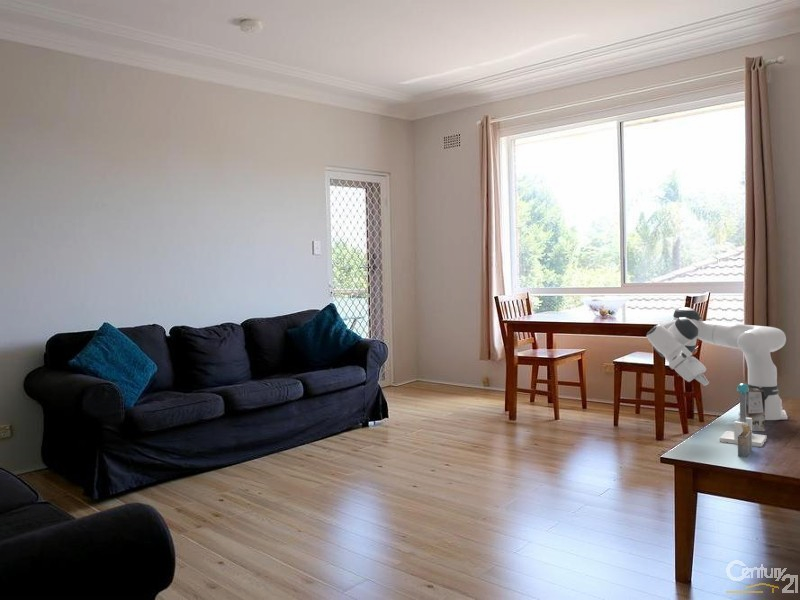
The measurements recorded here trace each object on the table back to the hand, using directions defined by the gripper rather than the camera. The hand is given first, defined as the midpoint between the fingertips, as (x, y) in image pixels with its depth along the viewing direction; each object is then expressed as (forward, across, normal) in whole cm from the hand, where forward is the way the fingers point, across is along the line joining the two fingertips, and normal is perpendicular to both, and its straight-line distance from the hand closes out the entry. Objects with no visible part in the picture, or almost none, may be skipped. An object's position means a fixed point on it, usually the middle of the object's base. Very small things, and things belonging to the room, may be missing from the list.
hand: (707, 384), depth 253 cm
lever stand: (+23, 0, -6) cm, 24 cm away
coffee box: (+24, -21, -6) cm, 32 cm away
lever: (+21, 0, -3) cm, 21 cm away
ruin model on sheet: (+26, +16, -4) cm, 31 cm away
